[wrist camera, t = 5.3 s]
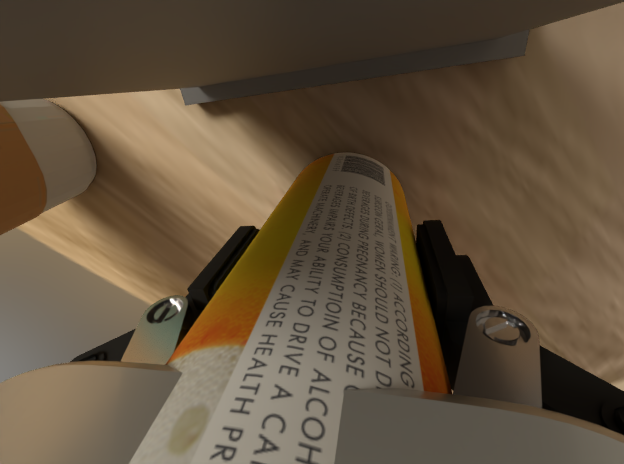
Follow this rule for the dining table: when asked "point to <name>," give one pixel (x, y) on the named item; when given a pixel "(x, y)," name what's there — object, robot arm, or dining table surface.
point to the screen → (252, 42)
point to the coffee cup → (40, 160)
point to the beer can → (304, 326)
